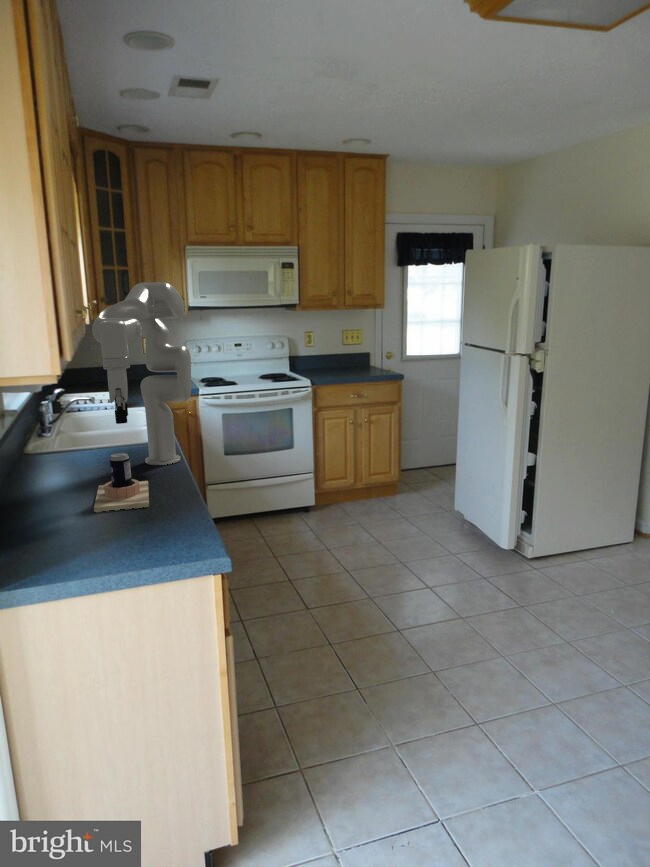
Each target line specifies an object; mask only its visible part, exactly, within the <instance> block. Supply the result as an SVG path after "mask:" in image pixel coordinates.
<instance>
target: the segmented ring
mask: <svg viewBox="0 0 650 867" xmlns="http://www.w3.org/2000/svg"><path fill="white" fill-rule="evenodd" d="M131 479H132V485H131V486H128V487H122V488H112V480H111V481H108V482H106V483H104V484H103V485H104V491H105V497H107V498H112V499H121V498H129V497H132V496H136V495H137V494H139V493H140V487H139V482H140V481H139V480H137V479H133V478H131Z"/></svg>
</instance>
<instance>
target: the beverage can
mask: <svg viewBox="0 0 650 867" xmlns="http://www.w3.org/2000/svg"><path fill="white" fill-rule="evenodd" d="M109 467H110V468H109V469H110V475H111V476H110V477H111V481H112V488H122V487H128V486H131V485H132V479H133V478H132V470H131V460H130V457H129V455H128V453H127V452H117V453H113V454H111V455H110V458H109Z"/></svg>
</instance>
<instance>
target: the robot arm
mask: <svg viewBox="0 0 650 867" xmlns="http://www.w3.org/2000/svg"><path fill="white" fill-rule="evenodd" d="M184 314H185V302H184V300H183V298H182V296H181V294H180V293H179V291H177V289H175V287H174V286H173V285H172V284H170V283H168V282H165V281H164V282H155V281H154V282H139V283H137V284H135V285H134V286H133V287H132V288H131V290H130V291H129V292H128V294H127V295H126V297H125V299H124V300H121V301H119V302H116V303H114V304H112V305H109V306H108V307H105V308H104V309H102V310H101V311H100V312H99V313H98V314H97V316H96V317H95V320H94V322H93V325H92V328H91V330H92V335H93V338H94V340H95V341H96V342H98V343H100V349H101V350H100V351H101V357H102V367H103V370H106V371H107V374H106V375H107V386H108V387H107V388H108V394H109V403H110V404H113V403H114V416H115V417H114V418H115V424H117V425H122V424H127V423H128V416H129V411H128V410H129V409H128V403H127V401H128V391H129V388H128V376H127V373H128V372H127V369H130V368H131V363H130V362H131V361H130V360H131V359H130V352H129V344H133V343H136V342H138V341H139V340H140V339H141V338H142V336H143V330H144V334H145V366H146V369H147V370H148V371H150V372H153V373H154V372H155V373H172V372H173V373H176V374H173V375H166V374H162V375H160V374H159V375H149V376H146V377H144V378H143V379H142V380H141V382H140V392H141V397H142V400H143V406H144V411H145V412H144V413H145V421H146V434H147V447H148V456H147V457H146V458H145V459H144V462H145V464H146V465H150V466H167V464H168V465H172V463H173V464H175V463H179V462H180V461H181V456H180V455H179V454H177V453H176V452H177V451H176V450H177V449H176V440H175V439H176V438H175V425H174V414H173V411H172V409H171V407H170V406H169V405H168V404H167V403H172V402H173V403H175V402H176V403H177V402H179V403H180V402H181V403H183V402H186V401H188V400H189V399H190V397H191V392H192V359H191V358H192V357H191V353H190V350H189V348H188V347H187V346H185V345H182V344H180V345H179V344H173V345H172V344H171V333H170V331H169V330H170V329H169V328H168V327H167V326H166V325H165V323H164V322H163V321H162V320H163V319H164V320H166V319H167V320H168V319H169V320H170V319H171V320H172V319H173V320H175V319H180V318H182V316H184Z"/></svg>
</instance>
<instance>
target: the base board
mask: <svg viewBox="0 0 650 867" xmlns="http://www.w3.org/2000/svg"><path fill="white" fill-rule="evenodd" d="M97 487H98V488H97V491H96V497H95V500H94V505H93V511H94V512H96V513H103V512H102V511H106V512H110V511H109V510H115V511H121V510H120V509H125V510H132V508H134V509H142V508H143V507H144V508H149V507H150V497H149V496H150V495H149V481H148V480H142V481H139V487H140V493H139V494H137V495H136V496H132V497H129V498H121V499H112V498H107V497H105V491H104V484H102V485H101V484H100V485H98V486H97ZM144 508H143V509H144ZM94 512H93V513H94Z"/></svg>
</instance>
